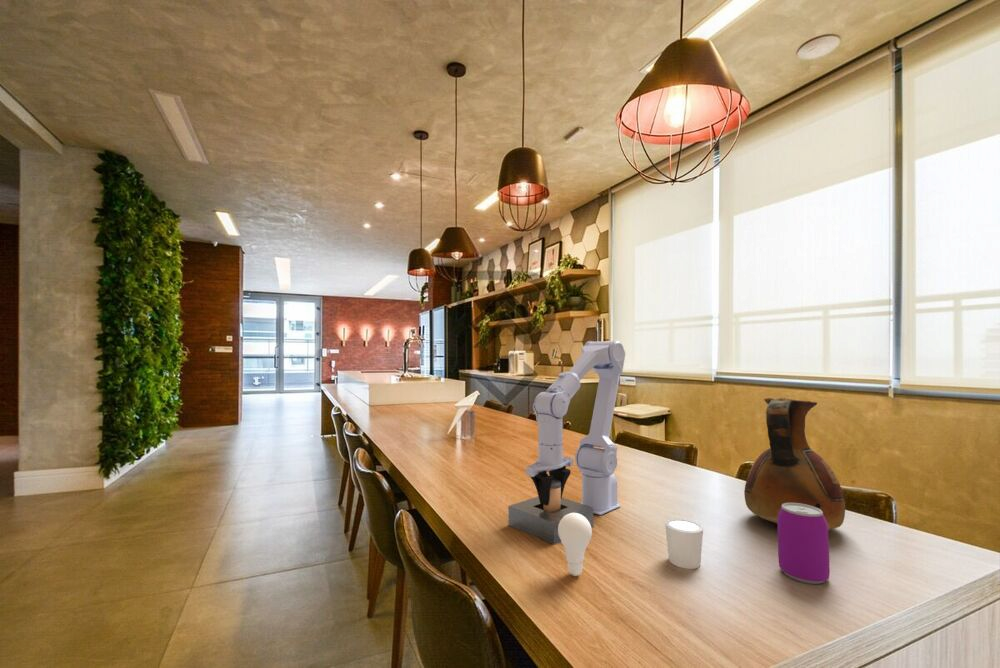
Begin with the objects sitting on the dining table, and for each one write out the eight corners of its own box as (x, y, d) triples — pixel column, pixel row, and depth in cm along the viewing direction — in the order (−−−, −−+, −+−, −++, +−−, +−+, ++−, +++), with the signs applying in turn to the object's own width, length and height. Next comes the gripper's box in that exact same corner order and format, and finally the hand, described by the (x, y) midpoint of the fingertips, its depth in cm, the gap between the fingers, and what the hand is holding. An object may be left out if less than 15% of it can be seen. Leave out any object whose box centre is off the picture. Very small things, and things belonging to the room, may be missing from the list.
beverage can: (777, 561, 85) (776, 498, 86) (826, 571, 81) (824, 505, 82) (779, 579, 78) (777, 510, 79) (833, 590, 75) (830, 519, 75)
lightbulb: (592, 585, 76) (591, 521, 76) (557, 582, 77) (556, 518, 78) (592, 568, 82) (591, 509, 82) (559, 565, 83) (559, 506, 84)
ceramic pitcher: (850, 524, 104) (846, 397, 105) (840, 552, 89) (835, 404, 91) (757, 504, 117) (754, 392, 119) (735, 526, 103) (732, 397, 104)
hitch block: (548, 511, 112) (547, 493, 112) (593, 527, 102) (593, 507, 102) (508, 525, 103) (508, 505, 103) (554, 544, 92) (553, 522, 93)
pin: (554, 511, 105) (554, 478, 105) (564, 517, 101) (564, 482, 101) (540, 514, 103) (540, 480, 103) (549, 520, 99) (549, 485, 100)
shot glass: (702, 556, 87) (701, 520, 87) (706, 573, 81) (705, 534, 81) (665, 551, 89) (664, 516, 90) (666, 566, 83) (665, 529, 83)
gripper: (557, 437, 111) (557, 491, 110) (516, 444, 101) (516, 504, 101) (579, 441, 106) (580, 498, 105) (539, 449, 96) (539, 512, 95)
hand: (550, 501), depth 103 cm, fingers closed on pin, 4 cm apart
